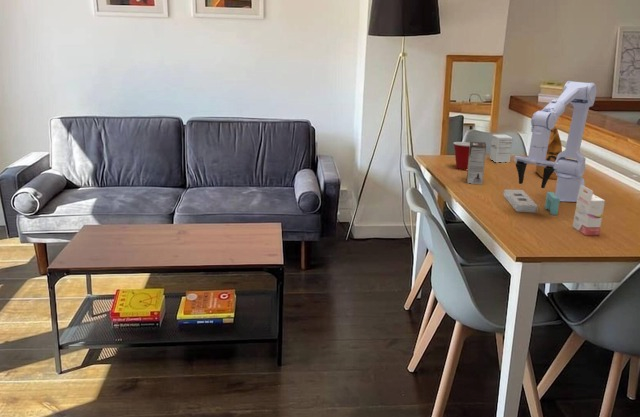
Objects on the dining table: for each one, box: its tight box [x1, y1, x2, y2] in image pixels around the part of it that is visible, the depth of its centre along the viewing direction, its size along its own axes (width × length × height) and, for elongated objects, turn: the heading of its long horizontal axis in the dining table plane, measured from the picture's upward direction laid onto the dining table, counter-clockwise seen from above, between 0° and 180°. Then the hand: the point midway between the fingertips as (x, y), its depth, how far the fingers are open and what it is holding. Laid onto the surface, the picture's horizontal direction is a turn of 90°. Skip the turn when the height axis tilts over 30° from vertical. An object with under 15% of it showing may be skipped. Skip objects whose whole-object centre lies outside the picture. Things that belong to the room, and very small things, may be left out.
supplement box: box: [489, 134, 514, 163], centre depth 280 cm, size 7×7×13 cm
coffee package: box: [535, 125, 563, 180], centre depth 254 cm, size 10×12×22 cm
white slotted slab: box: [503, 189, 539, 213], centre depth 217 cm, size 7×20×2 cm, turn 176°
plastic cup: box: [452, 141, 470, 170], centre depth 266 cm, size 11×11×12 cm
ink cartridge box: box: [572, 185, 606, 236], centre depth 188 cm, size 9×5×15 cm, turn 5°
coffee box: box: [466, 141, 487, 185], centre depth 244 cm, size 9×6×16 cm
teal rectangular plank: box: [544, 191, 561, 216], centre depth 209 cm, size 2×8×6 cm, turn 176°
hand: (531, 185), depth 203 cm, fingers open, 7 cm apart
